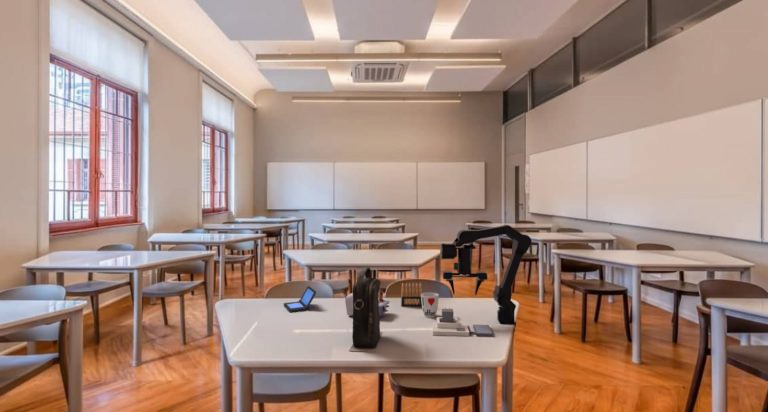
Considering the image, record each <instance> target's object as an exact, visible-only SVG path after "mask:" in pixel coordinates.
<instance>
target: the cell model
mask: <svg viewBox="0 0 768 412" xmlns="http://www.w3.org/2000/svg"><path fill="white" fill-rule="evenodd" d="M378 300H379V301H378V302H379V315H380V318H382V317H383V316H386V314H385V313H387V312H388V311H389V310H388V309H387V308H390V305H389V304H390V300H386V299H384V298H382V297H381V296H379V298H378ZM344 302H345V310H346V314H347V316H351V317H353V292H352V293H349V294H347V295H346V297H345V301H344Z"/></svg>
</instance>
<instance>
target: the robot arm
mask: <svg viewBox="0 0 768 412" xmlns="http://www.w3.org/2000/svg"><path fill="white" fill-rule="evenodd" d="M502 235H503V236H504V235H506V236H507V237H508V238H509V239H510V240H511V241H512V249H511V250H512V252H511V255H510V258H509V262H508V264H507V266H506V270H505V271H504V275H503V277H502V280H501V283H500V284H499V285H497V284H495V286H494V290H493V291H492V294H493V295H492V296H493V300H494V301H495V302H496V303H497V305H498V309H497V311H496V314H497V316H496V318H497V321H498V324H500V325H501V324H502V325H516V321H515V319H516V317H515V315H516V314H515V311H516V308H517V304H515V303H514V302H513V301H512V295H513V294H512V293H513V291H512V287H513V284H514V281H515V279H516V276H517V274H518V271H519V267H520V265H521V262H522V259H523V257H524V256H525V254H526V253H527V252H528V250H529V248H530V246H532V239H531V237H530V236H529V235H527V234H523V233H521V232H519V231H518V230H516V229H515V228H513V227H512V226H511V225H509V224H503V225H499V226H493V227H487V228H482V229H461V230H459V231H458V232H457V233H456V238H455V239H454V241H453V242H452V243H441V244H440V251H439V255H440V260H454V259H456V258H457V262H453V271H457V272H453V271H452V270H443V271H442V279H443V280H445V281H446V282H448V283H449V286H450V288H451V290H452V291H451V292H452V293H453V296H455V292H456V291H455V284H454V278H475V286H474V296H477V295H478V291H479V289H480V287H481V284H482V282H483V283H484V282H485V280H486V281H487V280H488V273H487V272H486V271H484V270H480V271H479V270H476V272H472V250H476V249H477V247H476V246H475V245H474V244H473V243H474V242H476V241H478V240H481V239H482V240H483V239H487V238H491V237H493V238H494V237H497V236H498V237H499V236H502Z"/></svg>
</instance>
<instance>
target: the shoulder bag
mask: <svg viewBox="0 0 768 412" xmlns="http://www.w3.org/2000/svg"><path fill="white" fill-rule="evenodd" d="M381 284H382V283H381V280H380V279H378V278H374V277H372V270H371V268H370V267H367V266H365V267H360V268H359V269H358V271H357V274H356V282H355V283H354V284H353V285H352V293H353V316H352V345H351V346H350V348H349V350H348V351H350V352H351V351H352V352H367V353H368V352H370V353H373V352H375V351H376V350H377V347H378V344H379V343H380V339H381V337H382V335H383V331H381V326H380V325H381V322H380V321H381V317H380V315H379V302H378V301H379V297H380V296H379V293H380V287H381Z"/></svg>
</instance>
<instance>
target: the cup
mask: <svg viewBox="0 0 768 412" xmlns="http://www.w3.org/2000/svg"><path fill="white" fill-rule="evenodd" d="M439 299H440V298H439V293H437V292H422V294H421V301H422V307H421V308H422V313H423V315H424V317H425V318H435V317H437V316H436V315H437V313H438V308H439V301H440V300H439Z"/></svg>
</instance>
